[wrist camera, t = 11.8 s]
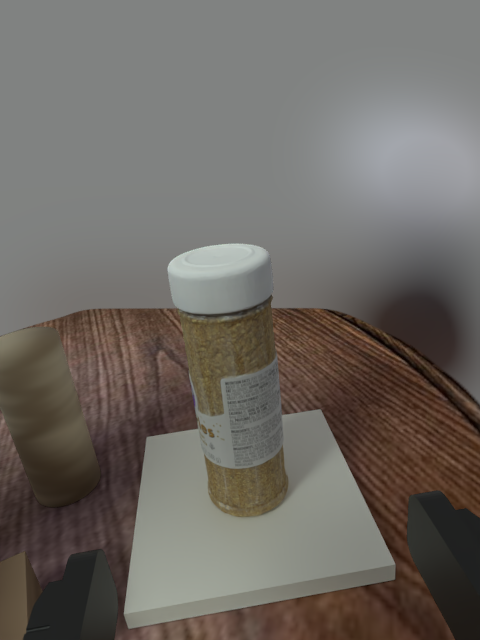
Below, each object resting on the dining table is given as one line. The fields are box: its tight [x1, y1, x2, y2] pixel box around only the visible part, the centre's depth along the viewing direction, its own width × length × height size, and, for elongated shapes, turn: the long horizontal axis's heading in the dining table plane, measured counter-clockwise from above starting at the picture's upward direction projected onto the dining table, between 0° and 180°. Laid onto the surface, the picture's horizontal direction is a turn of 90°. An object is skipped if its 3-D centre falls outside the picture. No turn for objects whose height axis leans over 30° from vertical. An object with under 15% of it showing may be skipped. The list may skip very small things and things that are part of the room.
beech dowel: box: [0, 327, 101, 507], centre depth 26 cm, size 4×4×10 cm
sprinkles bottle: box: [168, 244, 289, 517], centre depth 22 cm, size 5×5×14 cm
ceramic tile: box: [124, 409, 396, 629], centre depth 25 cm, size 12×12×1 cm
